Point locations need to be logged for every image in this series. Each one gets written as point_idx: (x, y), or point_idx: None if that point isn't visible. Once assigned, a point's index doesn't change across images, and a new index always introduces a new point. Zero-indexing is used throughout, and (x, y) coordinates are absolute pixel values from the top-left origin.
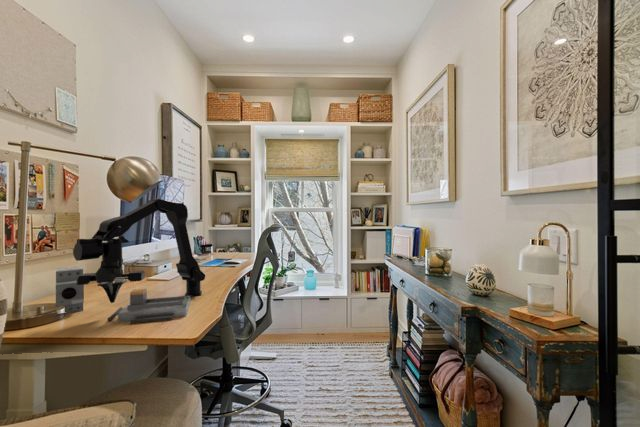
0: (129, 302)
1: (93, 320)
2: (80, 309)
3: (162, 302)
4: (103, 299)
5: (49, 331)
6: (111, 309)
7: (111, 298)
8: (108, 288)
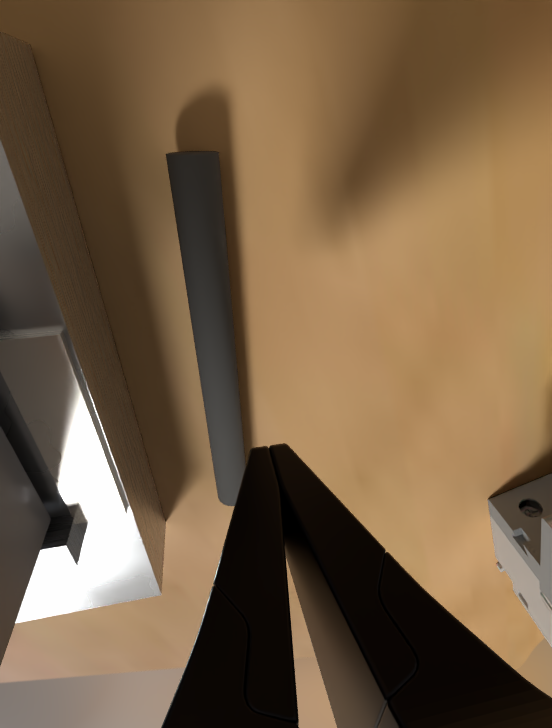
0: (141, 540)
1: (386, 252)
2: (509, 501)
3: None
4: None
5: None
6: None
7: (285, 490)
8: (415, 712)
